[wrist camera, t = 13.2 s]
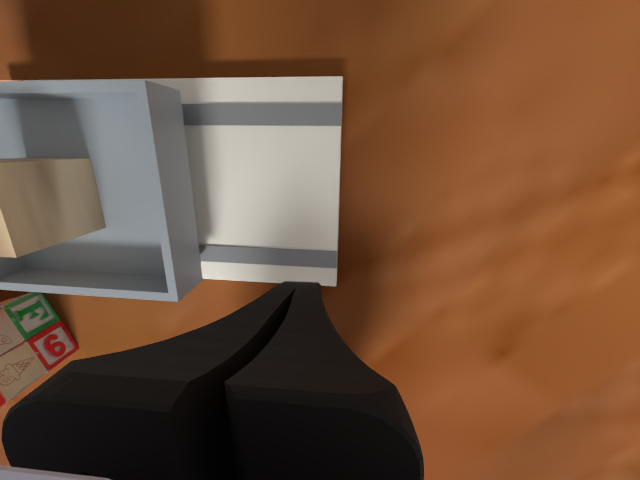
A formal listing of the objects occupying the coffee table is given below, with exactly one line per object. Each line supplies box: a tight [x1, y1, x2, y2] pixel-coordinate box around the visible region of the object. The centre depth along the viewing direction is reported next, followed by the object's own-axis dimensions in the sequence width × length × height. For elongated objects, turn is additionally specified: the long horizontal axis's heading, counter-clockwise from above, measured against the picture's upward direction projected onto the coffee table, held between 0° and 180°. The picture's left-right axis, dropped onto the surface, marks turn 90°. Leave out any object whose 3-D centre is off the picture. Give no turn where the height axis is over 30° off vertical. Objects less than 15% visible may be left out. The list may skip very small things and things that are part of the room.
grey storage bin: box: [0, 80, 203, 302], centre depth 18 cm, size 11×12×5 cm
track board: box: [0, 76, 343, 286], centre depth 20 cm, size 13×22×1 cm, turn 90°
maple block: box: [0, 158, 106, 258], centre depth 15 cm, size 4×4×5 cm
